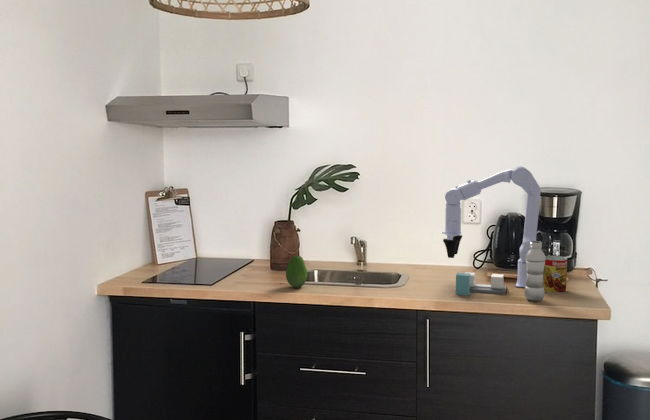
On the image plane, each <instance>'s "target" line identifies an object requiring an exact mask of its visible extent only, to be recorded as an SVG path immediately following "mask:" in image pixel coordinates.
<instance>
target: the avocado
mask: <svg viewBox="0 0 650 420" xmlns="http://www.w3.org/2000/svg"><path fill="white" fill-rule="evenodd" d="M307 277H308V270H307V266H306V264H305V261H304V259H303V257H302V256H301V255H294V256H293V257H292V258H291V259H290V261H288V265H287V268H286V270H285V279H286V280H287V282H288V284H289V285H290V286H291V287H293V288H296V289H297V288H301V287H303V286H304V285H305V283H306V282H307Z"/></svg>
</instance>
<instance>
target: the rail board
mask: <svg viewBox="0 0 650 420" xmlns="http://www.w3.org/2000/svg"><path fill="white" fill-rule="evenodd" d="M463 273H469V274H471V276H470V293H471V292H472V293H482V294H484V293H485V294H497V295H505V294H506V291H507V288H508V287H507V285H504V279H505V278H504V277H505V276H504V273H503V274H499V273H492V274H491V276H490V284H488V283H487V284H486V283H477V282H476V272H470V271H464V272H463Z"/></svg>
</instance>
